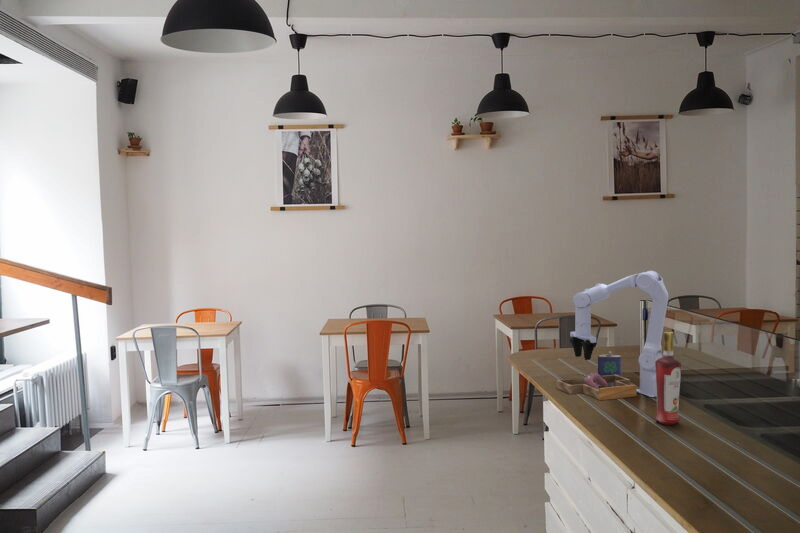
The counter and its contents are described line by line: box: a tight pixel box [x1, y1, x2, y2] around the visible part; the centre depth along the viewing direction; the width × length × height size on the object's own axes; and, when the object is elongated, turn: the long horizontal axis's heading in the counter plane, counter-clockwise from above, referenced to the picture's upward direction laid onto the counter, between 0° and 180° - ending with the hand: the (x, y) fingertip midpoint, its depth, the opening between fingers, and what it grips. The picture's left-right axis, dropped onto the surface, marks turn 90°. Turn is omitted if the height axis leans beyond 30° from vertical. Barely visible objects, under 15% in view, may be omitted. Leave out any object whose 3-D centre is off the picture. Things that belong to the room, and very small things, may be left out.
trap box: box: [555, 374, 638, 401], centre depth 230 cm, size 20×26×4 cm
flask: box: [597, 351, 622, 377], centre depth 250 cm, size 9×3×11 cm, turn 88°
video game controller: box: [584, 372, 609, 390], centre depth 234 cm, size 10×5×7 cm, turn 141°
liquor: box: [655, 331, 682, 426], centre depth 193 cm, size 7×7×28 cm
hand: (582, 358), depth 242 cm, fingers open, 6 cm apart
